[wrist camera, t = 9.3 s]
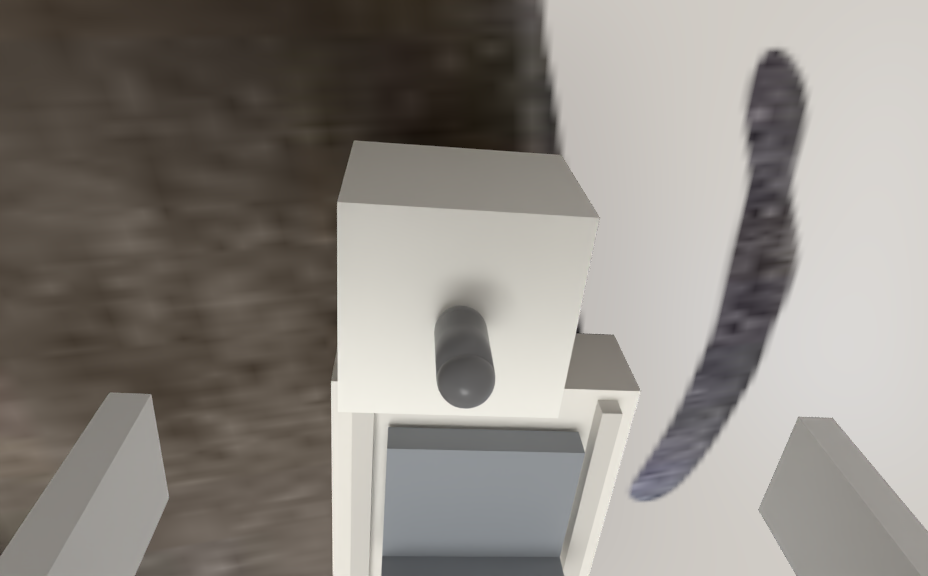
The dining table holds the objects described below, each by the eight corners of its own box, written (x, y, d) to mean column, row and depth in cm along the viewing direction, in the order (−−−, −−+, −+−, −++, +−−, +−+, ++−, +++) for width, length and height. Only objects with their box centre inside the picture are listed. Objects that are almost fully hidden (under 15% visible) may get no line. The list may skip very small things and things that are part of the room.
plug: (362, 107, 24) (320, 263, 13) (540, 120, 24) (638, 279, 14) (360, 267, 27) (324, 497, 16) (517, 275, 27) (581, 501, 17)
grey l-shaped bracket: (388, 427, 25) (383, 524, 21) (578, 431, 26) (608, 526, 22) (382, 551, 29) (377, 655, 25) (550, 552, 30) (571, 653, 26)
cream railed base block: (341, 323, 28) (328, 394, 24) (613, 334, 29) (647, 404, 25) (341, 605, 37) (331, 692, 33) (548, 604, 38) (564, 688, 34)
